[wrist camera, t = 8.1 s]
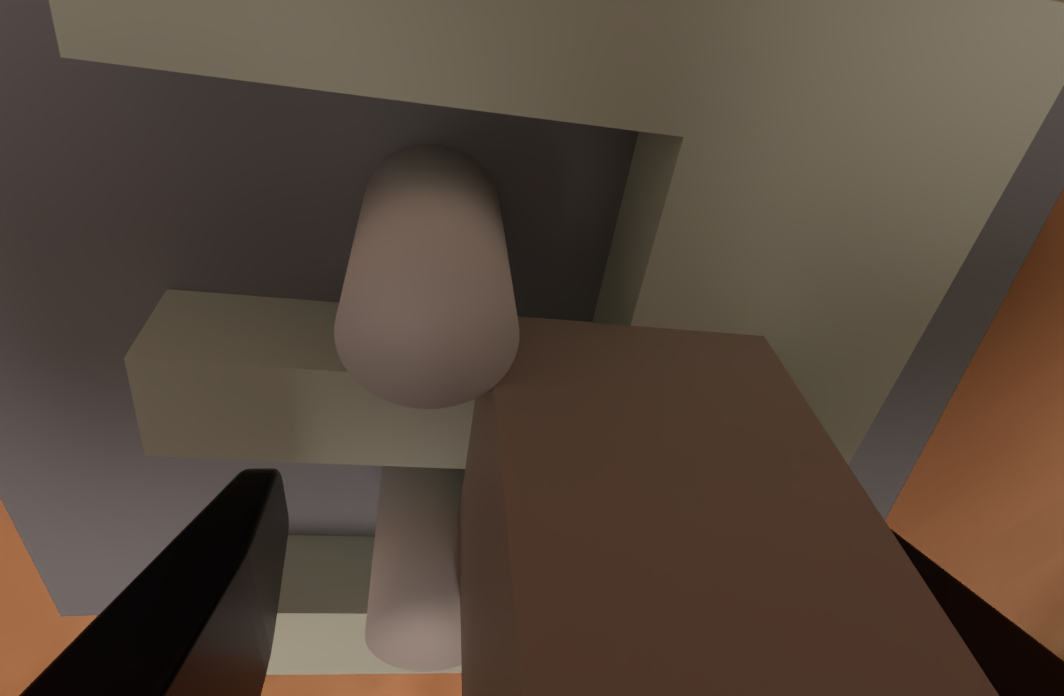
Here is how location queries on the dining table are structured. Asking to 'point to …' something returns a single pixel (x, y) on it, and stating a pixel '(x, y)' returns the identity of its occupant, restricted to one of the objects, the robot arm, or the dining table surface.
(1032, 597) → the dining table surface
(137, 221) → the slate board
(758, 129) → the two-prong bracket
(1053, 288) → the dining table surface
